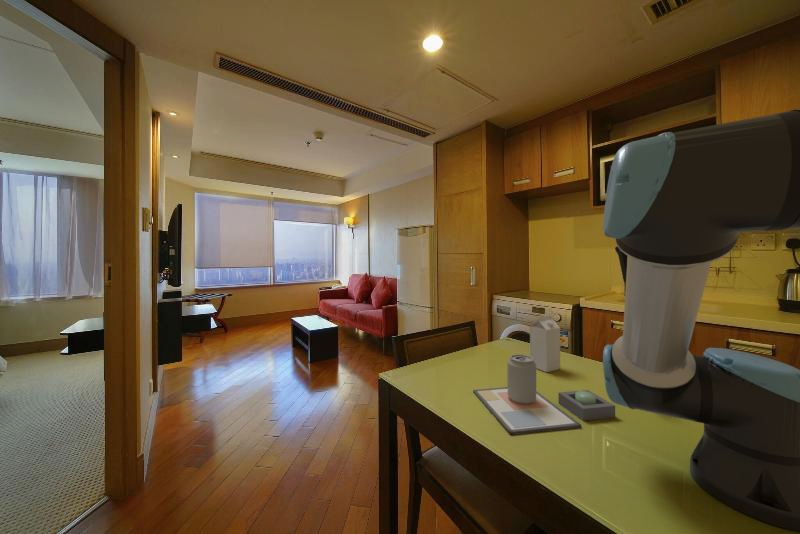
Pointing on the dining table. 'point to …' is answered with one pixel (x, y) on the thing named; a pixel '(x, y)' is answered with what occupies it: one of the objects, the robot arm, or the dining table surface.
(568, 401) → the button housing
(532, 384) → the can
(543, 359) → the milk carton
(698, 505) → the dining table surface
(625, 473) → the dining table surface
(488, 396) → the picture sheet
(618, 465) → the dining table surface
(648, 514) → the dining table surface
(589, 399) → the button
